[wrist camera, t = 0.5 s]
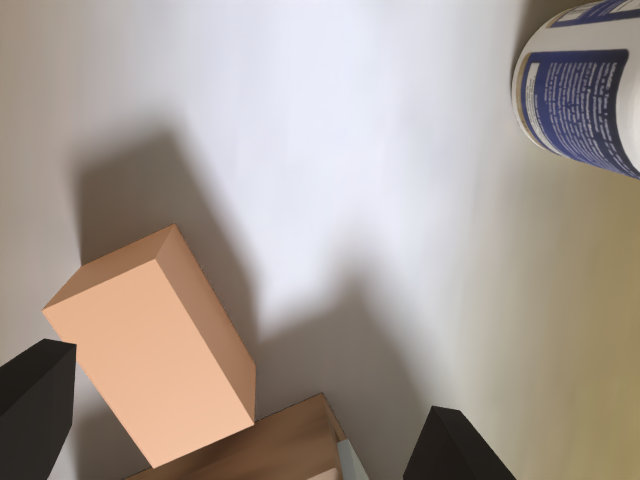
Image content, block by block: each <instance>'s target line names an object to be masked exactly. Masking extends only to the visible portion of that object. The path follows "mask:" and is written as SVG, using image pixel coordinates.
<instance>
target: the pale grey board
mask: <svg viewBox="0 0 640 480" xmlns="http://www.w3.org/2000/svg"><path fill="white" fill-rule="evenodd" d="M337 447H338V452H339V458H340V463H341V468H342V474H343V479H344V480H370V479H369V477H368V475H367V474H366V472H365V470H364V468H363V466H362V464H361V462H360V460H359V458H358V456H357V455H356V453H355V451H354V449H353V447H352V445H351V443H350V441H349V439H345V440H343V441H341V442H338V443H337Z"/></svg>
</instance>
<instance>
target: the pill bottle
mask: <svg viewBox="0 0 640 480" xmlns="http://www.w3.org/2000/svg"><path fill="white" fill-rule="evenodd" d="M512 104H513V109H514V113H515V116H516V119H517V121H518V123H519V125H520V127H521V129H522V130H523V132H524V133H525V134H526V135H527V136H528V137H529V139H531V140H532V141H533V142H534V143H535V144H536V145H538V146H539V147H541V148H543V149H545V150H547V151H549V152H552V153H554V154H557V155H560V156H563V157H567V158H571V159H574V160H577V161H580V162H584V163H587V164H590V165H593V166H597V167H600V168H603V169H606V170H610V171H613V172H616V173H620V174H623V175H626V176H629V177H633V178H636V179H639V180H640V0H603V1H598V2H592V3H588V4H583V5H580V6H576V7H573V8H570V9H568V10H565V11H563V12H561V13H559V14H558V15H556V16H554V17H553V18H551V19H550V20H548V21H547V22H546V23H545V24H544V25H542V26H541V27H540V28H539V29H538V30H537V31H536V32H535V33H534V35H533V36H532V37H531V38H530V40H529V41H528V43H527V44H526V46H525V47H524V49H523V51H522V53H521V55H520V57H519V60H518V62H517V65H516V68H515V71H514V76H513V82H512Z"/></svg>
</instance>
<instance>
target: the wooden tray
mask: <svg viewBox="0 0 640 480" xmlns="http://www.w3.org/2000/svg"><path fill="white" fill-rule="evenodd" d="M345 439H347V438H346V436H345V434H344V432H343V430H342V428H341V426H340V425H339V423H338V421H337V419H336V417H335V415H334V413H333V411H332V409H331V407H330V406H329V404H328V402H327V400H326V398H325V396H324V394H323V393H321V394H318V395H316V396H314V397H312V398H309V399H307V400H305V401H302V402H300V403H298V404H295V405H293V406H291V407H289V408H286V409H284V410H282V411H279V412H277V413H275V414H273V415H270V416H268V417H266V418H263V419H261V420H259V421H257V422H254V425H252V426H250V427H248V428H245V429H243V430H241V431H239V432H236V433H234V434H232V435H229V436H227V437H225V438H223V439H220V440H218V441H216V442H213V443H211V444H209V445H207V446H204V447H202V448H200V449H197V450H195V451H193V452H191V453H188V454H186V455H184V456H181V457H179V458H177V459H174V460H172V461H170V462H168V463H165V464H163V465H161V466H158V467H156V468H154V469H153V467H151V468H149V469H147V470H144V471H142V472H140V473H137V474H135V475H133V476H131V477H128V478H126V479H124V480H344V479H343V474H342V468H341V463H340V458H339V452H338V447H337V443H338V442H341V441H343V440H345Z"/></svg>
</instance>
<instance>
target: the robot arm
mask: <svg viewBox="0 0 640 480" xmlns="http://www.w3.org/2000/svg"><path fill="white" fill-rule="evenodd" d="M76 350H77V344H73V343H67V342H61V341H55V340H50V339H43V340H41V341H39V342H38V343H36V344H35V345H33V346H31V347H30V348H28V349H27V350H25V351H24V352H22V353H21V354H19V355H18V356H16V357H15V358H13V359H12V360H10V361H9V362H7V363H6V364H4V365H3V366H1V367H0V480H47V478H48V477H49V475H50V473H51V471H52V469H53V466H54V464H55V462H56V460H57V458H58V455H59V453H60V451H61V449H62V446H63V444H64V442H65V439H66V437H67V435H68V433H69V430H70V428H71V426H72V416H73V399H74V383H75V366H76ZM403 480H516V478H515V477H514V476H513V475H512V473H511V472H510V471H509V470H508V469H507V467H506V466H505V465H504V464H503V462H502V461H501V460H500V459H499V457H498V456H497V455H496V454H495V453H494V451H493V450H492V449H491V448H490V446H489V445H488V444H487V443H486V441H485V440H484V439H483V438H482V436H481V435H480V434H479V433H478V431H477V430H476V429H475V428H474V427H473V425H472V424H471V423H470V422H469V420H468V419H467V418H466V417H465V416H464V415H463V414H462V412H461V411H460V410H454V409H448V408H443V407H437V406H432V407H431V410H430V412H429V415H428V417H427V419H426V422H425V424H424V427H423V429H422V431H421V434H420V436H419V439H418V441H417V444H416V446H415V448H414V451H413V453H412V456H411V458H410V460H409V463H408V465H407V468H406V470H405V473H404V475H403Z"/></svg>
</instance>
